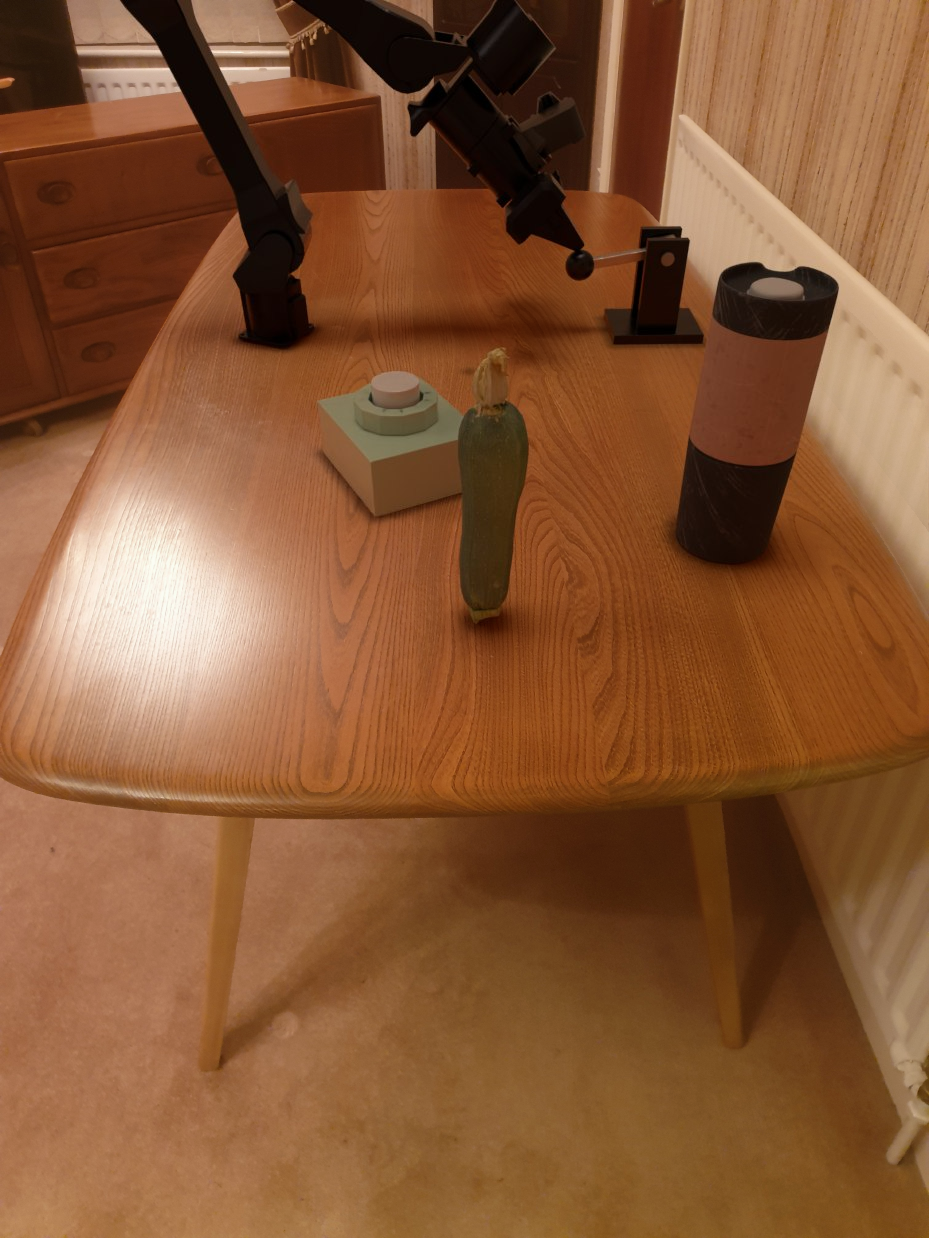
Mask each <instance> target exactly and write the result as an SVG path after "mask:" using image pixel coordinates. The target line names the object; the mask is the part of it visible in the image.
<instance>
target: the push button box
mask: <svg viewBox="0 0 929 1238" xmlns="http://www.w3.org/2000/svg"><path fill="white" fill-rule="evenodd" d="M418 378H419V382H420V402H419V403H418V404H416V405H415V406H412V407H407V408H403V409H384V408H381V407H377V406H374V404H373V402H372V391H371V382H369V383H366V385H364V386H362V387H361V388H359V389H358V390H357V389H356V391H354V392H349V393H345V394H344V393H343V394H340V395H335V396H331V397H327V398H323V399H318V400H316V403H317V404H316V405H317V411H318V412H317V413H318V421H319V428H320V435H321V443H322V451H323V454H324V455H325V457H326V458H327V460H328V461H329V462H330V463H331V464H332V465H333V467H334V468H335V469H336V470H337V472H338V473H339V474H340V475H341V477H342V478H343V479H344V480H345V482H346V483H347V484H348V485H349V487H350V488H351V489H352V490H353V492H354V493H355V494H356V495H357V496H358V498H359V499H360V500H361V501H362V503H363V504H364V505H365V506H366V508H367V509H368V510H369V511H370V512H371V514H372V515H373V517H375V518H379V517H382V516H385V515H388V514H392V513H395V512H400V511H402V510H403V511H404V510H406V509H410V508H413V507H416V506H420V505H424V504H428V503H430V502H434V501H437V500H441V499H445V498H448V497H451V496H455V495H458V494H462V485H461V478H460V468H459V461H458V433H459V428H460V425H461V422H462V419H463V417H464V414H462V413H461V412H460V411H459V410H458V409H457V408H455V407H454V406H453V405H452V404H451V403H450V402H449V401H448V400H446V398H444V397H443V396H442V395H441V394H440V393H439V392H438V390H436V389H435V388H434V387H432V385H431V384H429V383H427V382H426V381H425V380H424V379H423V378H422V377H418Z"/></svg>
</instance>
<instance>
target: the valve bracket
mask: <svg viewBox="0 0 929 1238" xmlns="http://www.w3.org/2000/svg"><path fill="white" fill-rule="evenodd" d="M670 234H674V236H675V237H676V238H653V237H659V236H664V235H670ZM682 234H683V227H682V225H667V226H666V225H665V226H663V225H662V226H661V225H659V226H658V225H657V226H656V225H654V226H651V225H650V226H649V225H648V226H647V225H646V226H640V231H639V238H638V246H637V249H639V248H644V247H646V250H645V258H644V260H642V261H637V262H635V263H636V264H635V269H634V270H635V272H634V279H633V289H632V297H631V304H630V308H604V310H603V311H604V312H603V320H604V323H605V325H606V328H607V330H608V333H609V336H610V339H611V342H612V345H615V346H617V345H618V346H619V345H625V346H626V345H703V343H704V336H705V334H704V332H703V331H702V329H701V327H700V325H699V323H698V321H697V320H696V318H695V316H694V314H693V312H692V311H691V309H690V308H689V307H681V302H682V301H681V300H682V295H683V288H684V282H685V275H686V269H687V263H688V258H689V257H688V256H689V252H690V251H689V250H690V243H691V239H690V238H689V237H682Z"/></svg>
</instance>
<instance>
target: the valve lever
mask: <svg viewBox="0 0 929 1238" xmlns="http://www.w3.org/2000/svg"><path fill="white" fill-rule="evenodd" d="M653 238H676V237H675V236H674V234H670V235H664V236H659V237H653ZM645 250H646V247H644V248H639V249H638V248H633V249H628V250H624V251H617V252H612V253H606V254H600V255H595V256H593V255H592V253H590V252H589V250H586V249H583V248H582V249H581V250H580V251H579V252H576V251H573V250H572V252H571V253H569V255H568V256H567V257H566V260H565V272H566V275H567V276H568V277H569V278H570V279H571V280H573V281H576V282H583V281H585V280H587V279H588V278H590V277H591V276H592V274H593V272H594V271H595V270H596V269H602V268H607V267H614V266H620V265H624V264H631V263H636V262H637V261H642V260H644V258H645Z"/></svg>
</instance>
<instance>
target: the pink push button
mask: <svg viewBox="0 0 929 1238" xmlns="http://www.w3.org/2000/svg"><path fill="white" fill-rule="evenodd" d="M370 383H371V391H372V402H373V404H374V406H377V407H381V408H384V409H403V408H407V407H412V406H415V405H416V404H418V403H419V402H420V382H419V377H418V376H417V375H416V374H414V373H412V372H408V371H403V370H392V371H384V372H382V373H378V374H377V375H375V376H373V378H372V379H371V381H370Z"/></svg>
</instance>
